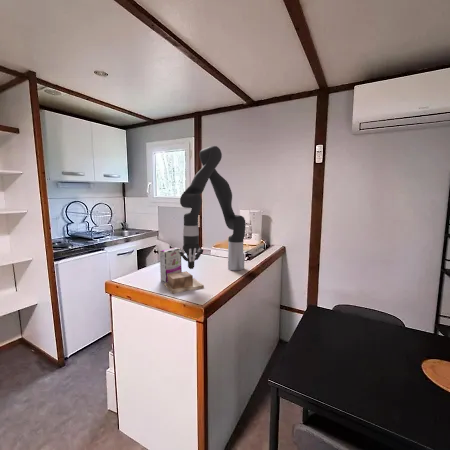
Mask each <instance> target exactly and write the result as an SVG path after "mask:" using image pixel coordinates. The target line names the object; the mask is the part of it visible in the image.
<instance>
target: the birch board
mask: <svg viewBox="0 0 450 450" xmlns="http://www.w3.org/2000/svg"><path fill="white" fill-rule="evenodd" d="M164 287H166V288H167V290H168V291H169V292H170V293H171V294H178V293H182V292H188V291H193V290H194V291H195V290H198V289H203V288H205V286H204V284H203V283H201V282H200V281H198V280H197V279H196V278H195V277H193V286H188V287H183V288H177V289H172V288H171V287H170V286H169V285H168V282H164Z"/></svg>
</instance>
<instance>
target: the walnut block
mask: <svg viewBox="0 0 450 450" xmlns="http://www.w3.org/2000/svg"><path fill="white" fill-rule="evenodd" d="M193 278H194V277H193V275H192V274H191V273H189V272H188V271H182V272H179V273H173V274H168V282H167V283H168V285H169V286H170V287H171V288H172V289H177V288H183V287H188V286H193Z"/></svg>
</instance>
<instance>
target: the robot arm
mask: <svg viewBox="0 0 450 450" xmlns="http://www.w3.org/2000/svg"><path fill="white" fill-rule="evenodd" d="M222 155H223V154H222V150H221V149H220V147H219V146H217V145H214V146H213V145H212V146H208V147H205V148H202V149H201V150H200V151H199V160H200V162H201V165H202V167H201V168H200V169H199V170H198V171H197V172H196V173H195V175H194V177H193V178H192V180H191V183H190V185H189V186H188V187H187V188H186V189H185V191H183V193H181V196H180V198H179V202H180V206H181V207H182V208H185V209H190V212H187V213H184V214H183V233H182V235H183V236H182V237H183V241H182V242H183V245H182V248H181V251H179V252H178V253H179V254H180V255H181V258H182V259H183V260H184V261H186V262H187V268H188V269H189V270H193V269H194V268H195V261H197V260H198V259H199V258H200V257H201V255H203V252H204V249H202V248H201V247H200V245H199V240H200V236H199V234H200V231H199V215H200V212H201V211H200V210H201V207H202V202H203V201H202V200H203V199H202V197H201V194H203V192H204V190H205V187H206V186H207V183H208V180H209V181H210V183H211V186H212V189H213V191H214V193H215V196H216V198H217V201H218V203H219V206H220V209H221V212H222V215H223V219H224V222H225V225H226V227H227V228H228V229H229V230H231V231H232V235H230V236H228V237H227V238H228V239H227V240H228V241H227V242H228V243H227V244H228V247H227V248H228V249H227V250H228V251H227V252H228V254H227V268H228V270H230V271H234V272H235V271H242V270H244V269H245V258H246V256H245V253H244V240H245V237H246V219H245V217H244V216H242V215H238V214H235V212H234V210H233V207H232V206H233V205H232V203H233V192H232V190H231V187H230V184H229V182H228V181H227V179H225V178H224V177H223V176H222V175H221V174H220V173H219V172H218V171H217V169H216V168H217V167H218V165H219V164H220V162H221V160H222V157H223V156H222Z"/></svg>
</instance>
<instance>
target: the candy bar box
mask: <svg viewBox="0 0 450 450" xmlns="http://www.w3.org/2000/svg"><path fill="white" fill-rule="evenodd" d="M181 250H182V248H179V247H176V246H175V247H172V248H171V247H170V248H167V249H166V248H165V249H161V250H159V264H160V265H159V267H160V269H159V270H160V271H159V272H160V281H161V282H163V283H168V274H173V273H179V272H183V271H182V256H181V255H180V254H179V253H178V252H179V251H181Z"/></svg>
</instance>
